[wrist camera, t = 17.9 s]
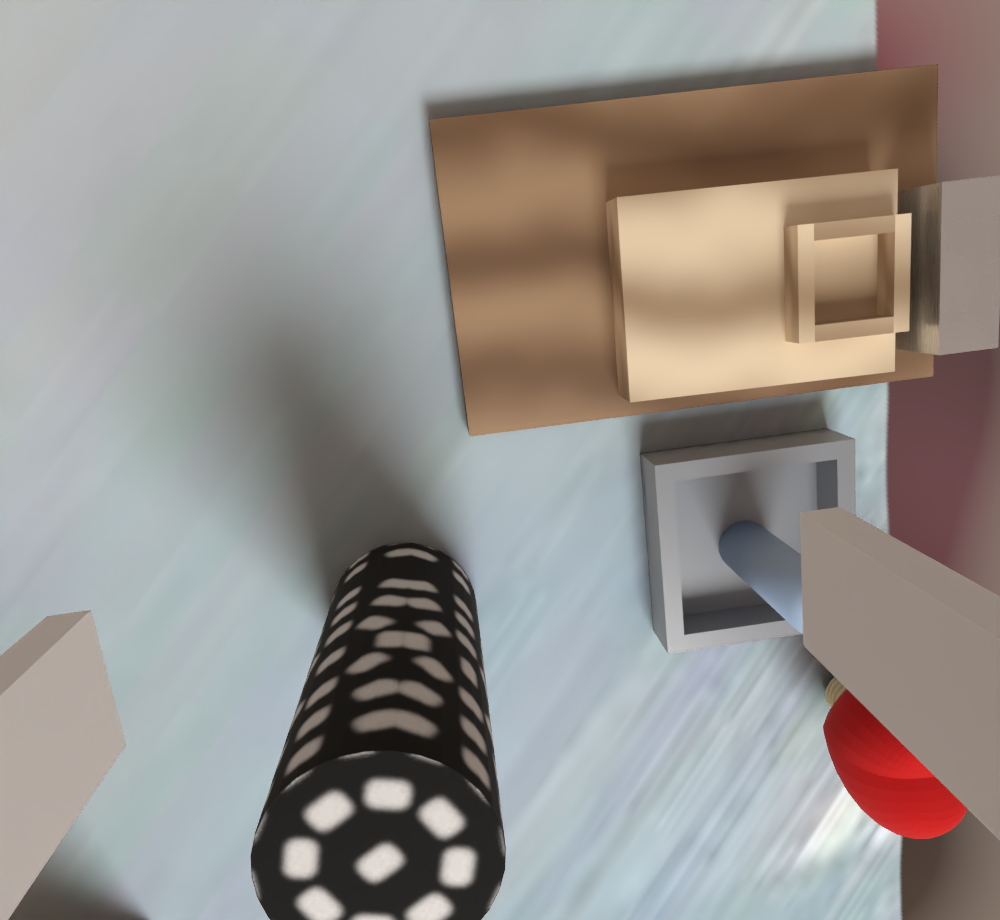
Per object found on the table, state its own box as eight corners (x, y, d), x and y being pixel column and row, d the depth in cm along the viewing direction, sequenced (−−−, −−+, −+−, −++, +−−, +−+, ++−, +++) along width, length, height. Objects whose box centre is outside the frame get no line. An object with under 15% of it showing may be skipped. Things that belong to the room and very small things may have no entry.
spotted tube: (415, 514, 43) (398, 701, 24) (504, 619, 45) (555, 872, 26) (302, 601, 44) (195, 852, 25) (394, 701, 46) (363, 1008, 26)
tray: (640, 453, 44) (654, 465, 41) (827, 428, 44) (855, 438, 41) (653, 630, 46) (667, 653, 43) (830, 604, 47) (856, 626, 44)
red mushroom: (783, 623, 47) (874, 712, 37) (894, 608, 47) (1012, 693, 37) (786, 757, 49) (872, 874, 39) (892, 742, 49) (1003, 855, 40)
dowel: (717, 570, 45) (785, 637, 36) (720, 521, 44) (790, 577, 36) (766, 569, 45) (846, 635, 36) (770, 520, 45) (852, 576, 36)
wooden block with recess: (605, 202, 39) (624, 193, 35) (870, 175, 40) (916, 163, 36) (618, 395, 42) (637, 407, 38) (868, 366, 42) (912, 374, 38)
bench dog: (881, 194, 40) (941, 182, 35) (936, 187, 40) (1004, 175, 36) (881, 346, 42) (939, 355, 37) (933, 340, 42) (998, 347, 37)
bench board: (429, 124, 39) (429, 119, 38) (923, 70, 40) (938, 64, 39) (468, 432, 43) (469, 436, 41) (920, 373, 44) (933, 376, 43)
